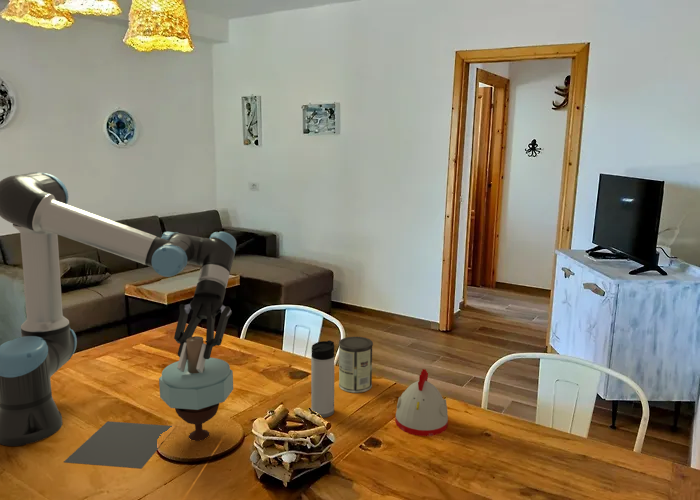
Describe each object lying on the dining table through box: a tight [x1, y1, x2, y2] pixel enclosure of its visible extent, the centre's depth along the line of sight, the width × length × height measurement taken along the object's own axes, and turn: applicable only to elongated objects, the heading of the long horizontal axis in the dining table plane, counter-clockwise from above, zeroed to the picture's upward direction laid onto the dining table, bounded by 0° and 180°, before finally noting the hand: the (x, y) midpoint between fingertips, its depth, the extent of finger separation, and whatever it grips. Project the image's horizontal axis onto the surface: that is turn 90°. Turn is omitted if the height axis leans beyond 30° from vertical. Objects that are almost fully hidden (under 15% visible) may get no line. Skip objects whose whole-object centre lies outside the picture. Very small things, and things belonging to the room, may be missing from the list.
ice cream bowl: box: [174, 403, 220, 442], centre depth 139 cm, size 11×11×15 cm
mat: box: [63, 420, 173, 469], centre depth 136 cm, size 19×19×1 cm
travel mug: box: [310, 340, 335, 418], centre depth 152 cm, size 6×7×20 cm
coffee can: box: [338, 336, 374, 394], centre depth 169 cm, size 10×10×14 cm
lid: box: [158, 335, 234, 410], centre depth 137 cm, size 16×16×14 cm
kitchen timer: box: [395, 368, 449, 437], centre depth 148 cm, size 14×14×15 cm
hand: (189, 370), depth 133 cm, fingers closed on lid, 4 cm apart
